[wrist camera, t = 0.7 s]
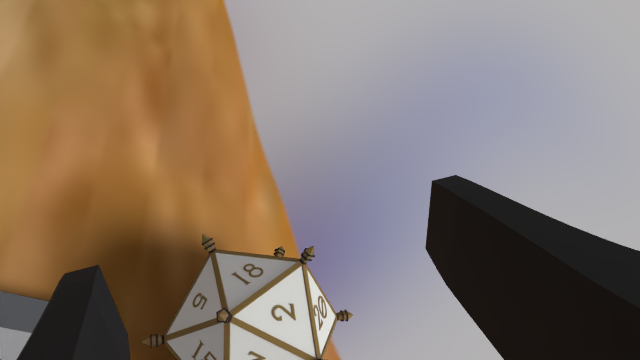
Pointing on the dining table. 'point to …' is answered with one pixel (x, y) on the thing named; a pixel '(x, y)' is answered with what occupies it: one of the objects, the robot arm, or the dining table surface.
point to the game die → (251, 310)
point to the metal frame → (20, 312)
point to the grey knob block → (12, 343)
